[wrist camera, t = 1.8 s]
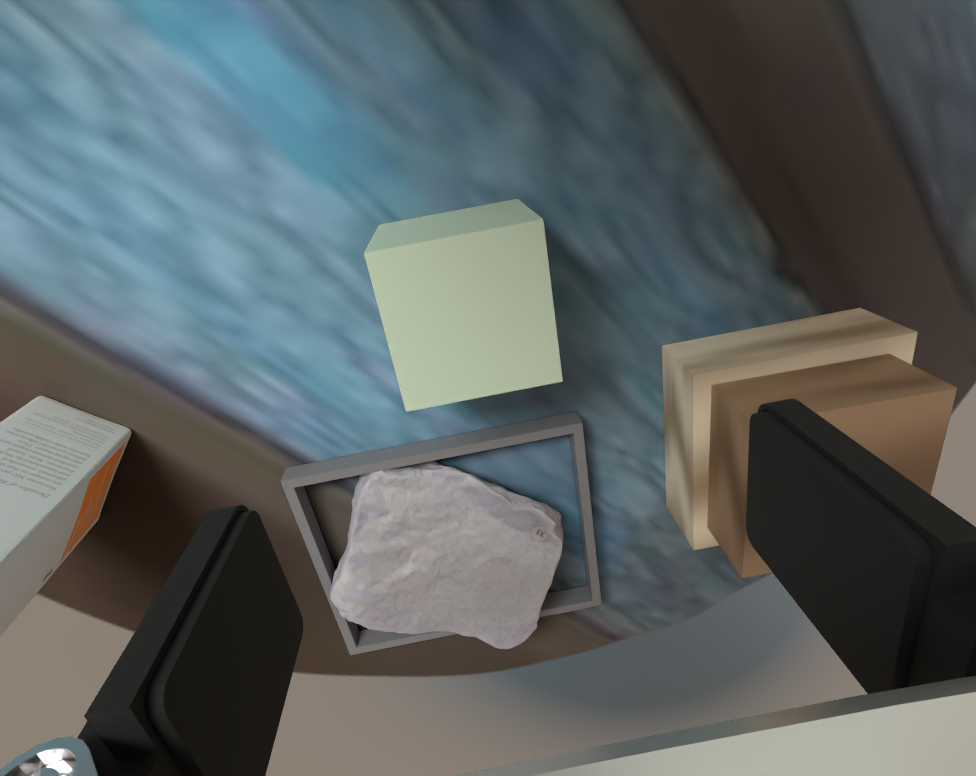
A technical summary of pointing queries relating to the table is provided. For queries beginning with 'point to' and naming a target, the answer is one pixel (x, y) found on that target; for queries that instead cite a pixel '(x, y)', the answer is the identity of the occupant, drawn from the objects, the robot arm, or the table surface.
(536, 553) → the stone block
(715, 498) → the walnut block
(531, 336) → the green cube
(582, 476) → the tray rim
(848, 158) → the table surface
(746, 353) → the beech block
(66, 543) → the skincare box
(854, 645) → the robot arm
